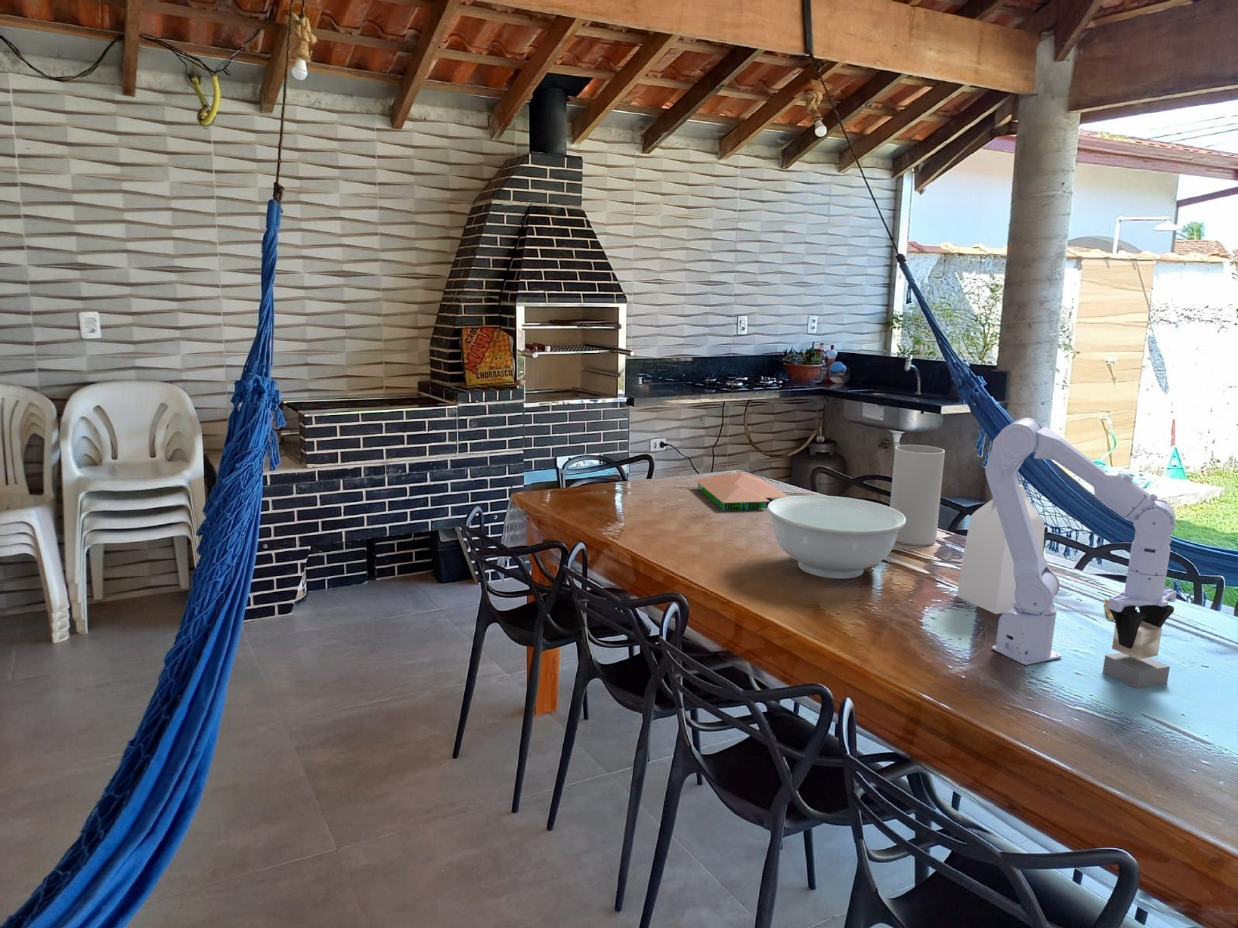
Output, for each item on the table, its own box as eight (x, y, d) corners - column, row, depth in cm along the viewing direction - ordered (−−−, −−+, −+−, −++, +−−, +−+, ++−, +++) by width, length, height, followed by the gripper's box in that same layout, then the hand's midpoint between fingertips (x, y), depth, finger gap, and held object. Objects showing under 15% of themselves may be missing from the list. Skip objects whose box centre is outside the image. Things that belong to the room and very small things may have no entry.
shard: (1103, 605, 191) (1104, 597, 190) (1144, 611, 187) (1145, 603, 187) (1106, 621, 181) (1107, 613, 181) (1148, 628, 178) (1149, 620, 177)
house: (757, 486, 296) (758, 462, 294) (794, 511, 264) (796, 484, 263) (692, 487, 292) (693, 464, 290) (722, 513, 260) (723, 486, 258)
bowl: (917, 564, 214) (922, 507, 211) (876, 602, 188) (882, 537, 185) (794, 541, 232) (797, 487, 229) (741, 573, 205) (744, 513, 202)
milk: (998, 589, 197) (1011, 478, 192) (1038, 607, 187) (1053, 490, 182) (956, 595, 193) (968, 481, 188) (995, 614, 183) (1009, 494, 177)
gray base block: (1136, 690, 150) (1139, 671, 149) (1102, 673, 156) (1105, 654, 155) (1166, 685, 152) (1169, 666, 151) (1131, 668, 158) (1134, 650, 158)
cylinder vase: (888, 544, 231) (896, 451, 226) (886, 531, 243) (893, 443, 238) (938, 548, 228) (947, 455, 223) (933, 535, 240) (942, 446, 235)
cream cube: (1137, 659, 150) (1142, 632, 149) (1111, 648, 154) (1115, 621, 153) (1157, 655, 152) (1161, 628, 151) (1131, 644, 156) (1135, 618, 155)
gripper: (1139, 582, 144) (1128, 659, 146) (1197, 572, 149) (1185, 646, 152) (1101, 569, 150) (1091, 643, 153) (1158, 560, 156) (1147, 631, 158)
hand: (1135, 644), depth 153 cm, fingers closed on cream cube, 5 cm apart
